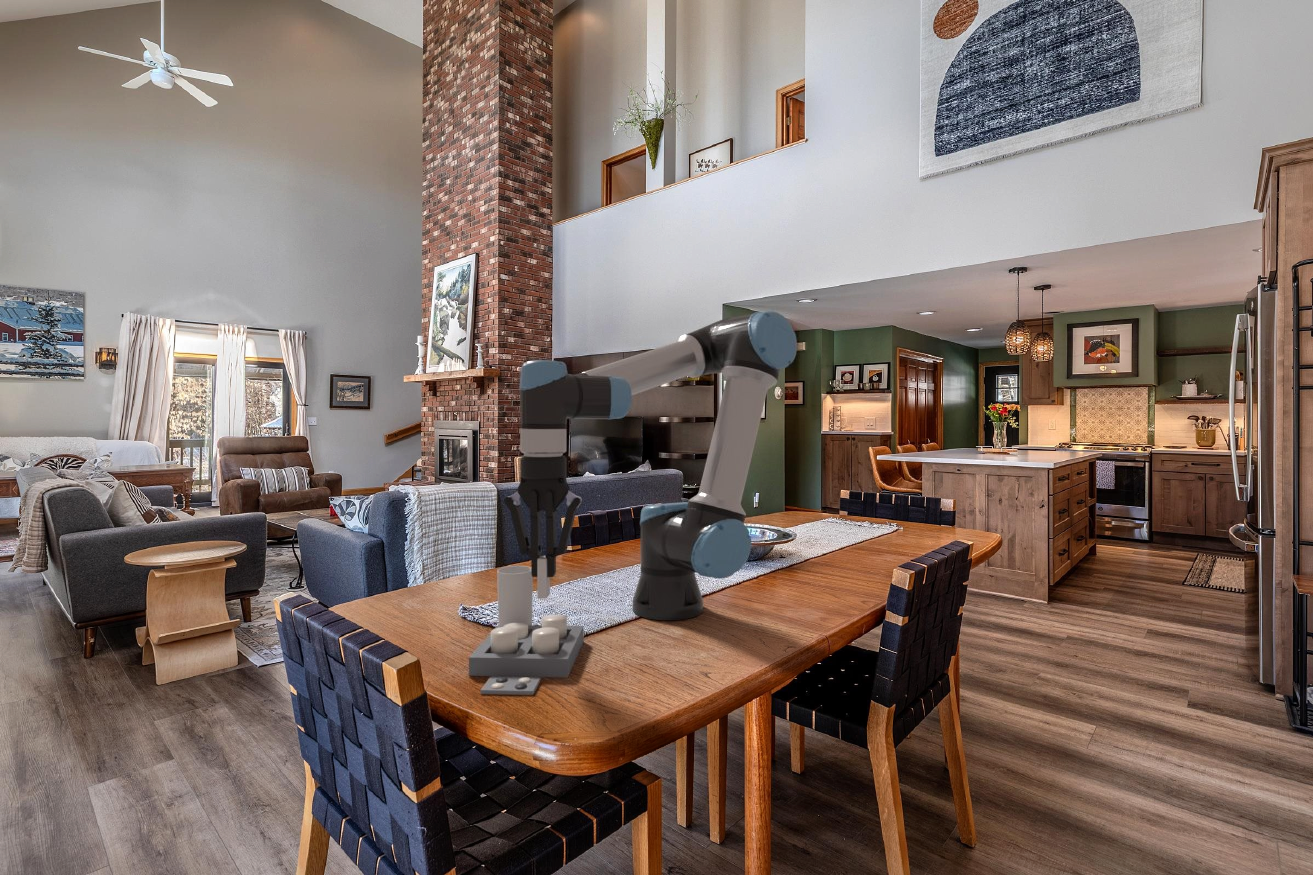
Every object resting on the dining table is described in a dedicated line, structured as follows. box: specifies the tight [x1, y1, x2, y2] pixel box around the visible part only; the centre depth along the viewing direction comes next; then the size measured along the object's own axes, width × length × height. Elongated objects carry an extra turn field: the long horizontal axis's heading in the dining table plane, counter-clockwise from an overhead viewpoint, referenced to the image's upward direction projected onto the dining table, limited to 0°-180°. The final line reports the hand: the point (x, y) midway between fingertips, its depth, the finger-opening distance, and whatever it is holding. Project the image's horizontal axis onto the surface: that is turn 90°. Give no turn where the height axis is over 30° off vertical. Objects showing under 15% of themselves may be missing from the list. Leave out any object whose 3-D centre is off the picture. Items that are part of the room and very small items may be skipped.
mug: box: [496, 565, 534, 625], centre depth 125 cm, size 10×7×12 cm, turn 25°
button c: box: [532, 627, 559, 654], centre depth 106 cm, size 4×4×4 cm
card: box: [480, 676, 542, 696], centre depth 98 cm, size 8×5×1 cm, turn 87°
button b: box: [503, 623, 528, 639], centre depth 114 cm, size 4×4×4 cm
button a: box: [541, 614, 568, 639], centre depth 113 cm, size 4×4×4 cm
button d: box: [490, 627, 518, 654], centre depth 107 cm, size 4×4×4 cm
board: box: [468, 624, 585, 679], centre depth 110 cm, size 16×16×3 cm
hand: (543, 595), depth 106 cm, fingers closed
